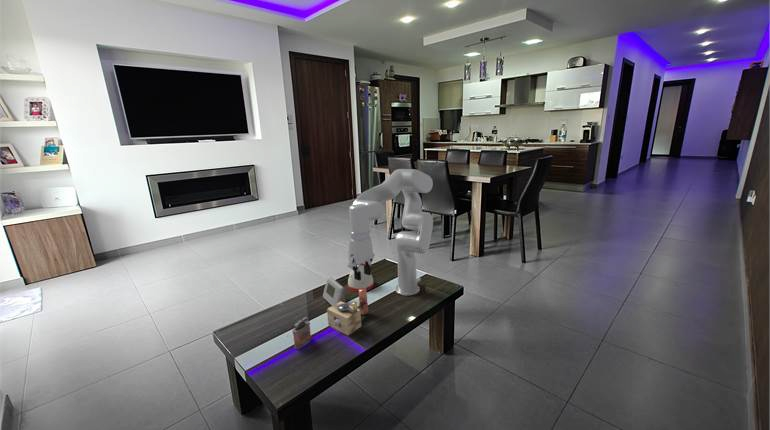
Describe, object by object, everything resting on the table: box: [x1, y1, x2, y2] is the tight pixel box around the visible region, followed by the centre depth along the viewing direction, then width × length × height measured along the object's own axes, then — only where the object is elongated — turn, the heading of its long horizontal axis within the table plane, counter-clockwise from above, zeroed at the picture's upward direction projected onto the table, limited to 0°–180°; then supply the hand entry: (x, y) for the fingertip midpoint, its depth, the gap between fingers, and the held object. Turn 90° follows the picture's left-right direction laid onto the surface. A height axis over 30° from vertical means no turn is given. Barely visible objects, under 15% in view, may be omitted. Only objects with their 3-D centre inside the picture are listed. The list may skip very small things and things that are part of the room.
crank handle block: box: [337, 301, 358, 314], centre depth 133 cm, size 5×10×5 cm, turn 51°
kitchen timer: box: [347, 263, 375, 292], centre depth 172 cm, size 14×14×15 cm
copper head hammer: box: [334, 288, 369, 326], centre depth 139 cm, size 19×4×12 cm, turn 141°
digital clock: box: [322, 276, 347, 306], centre depth 156 cm, size 16×9×11 cm, turn 23°
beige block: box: [326, 301, 362, 336], centre depth 136 cm, size 8×12×8 cm, turn 51°
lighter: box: [292, 316, 313, 350], centre depth 126 cm, size 8×3×10 cm, turn 148°
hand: (362, 276), depth 132 cm, fingers open, 5 cm apart
